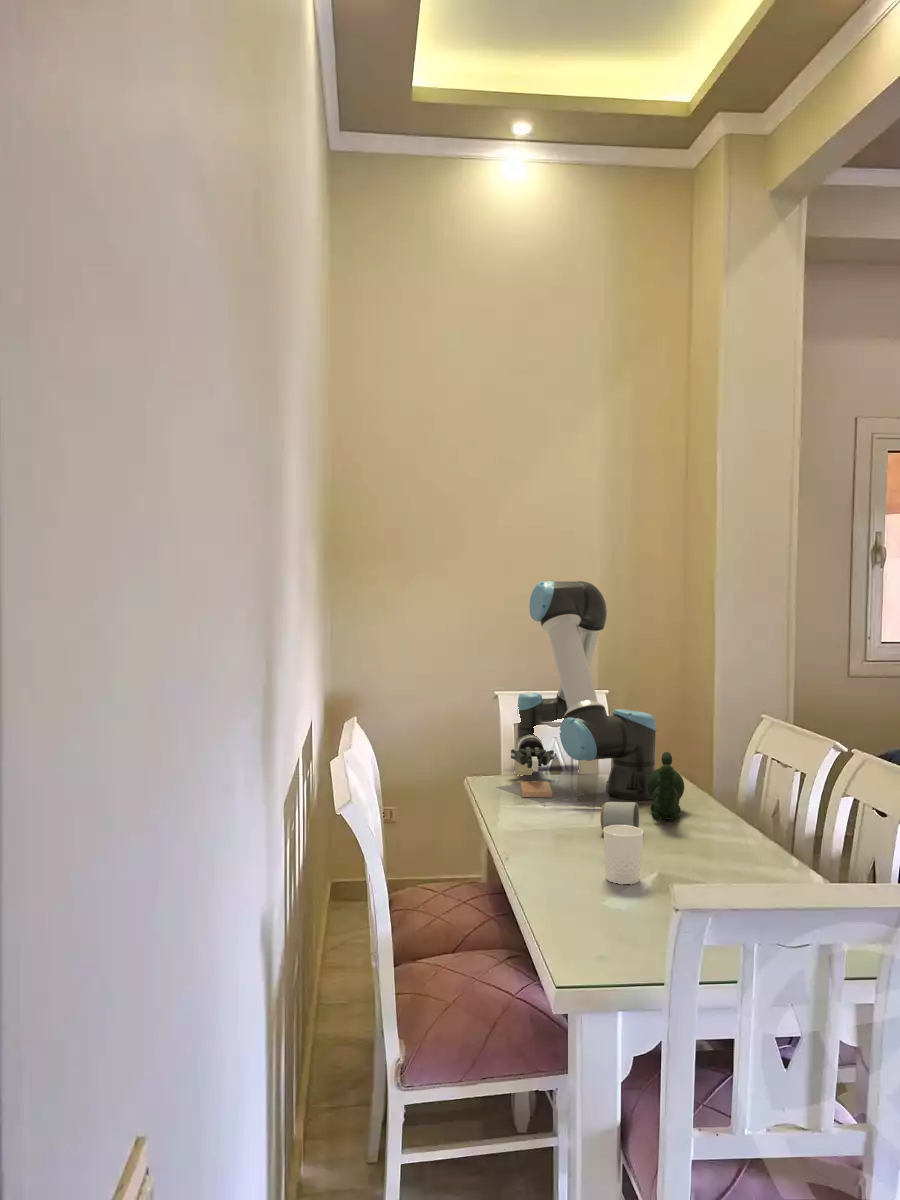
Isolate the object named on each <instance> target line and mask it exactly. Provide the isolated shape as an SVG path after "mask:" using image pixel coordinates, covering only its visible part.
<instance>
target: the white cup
mask: <svg viewBox="0 0 900 1200" xmlns="http://www.w3.org/2000/svg"><path fill="white" fill-rule="evenodd" d="M603 830H604V831H603ZM603 830H602V831H603V853H604V855H603V858H604V866H605V869H604V870H605V872H604V873H605V879H606V880H607V882H611V883H612V882H613V884H616V883H618V884H617V885H623V884H630V885H635V884H637V883H639V882H640V876H641V874H640V873H641V868H642V855H643V845H644V844H643V842H644V841H643V840H644V830H643V829H642V828H637V827H634V826H629V825H610V826H607V827H605V828H604V829H603Z"/></svg>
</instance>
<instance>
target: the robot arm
mask: <svg viewBox="0 0 900 1200" xmlns="http://www.w3.org/2000/svg"><path fill="white" fill-rule="evenodd" d="M530 594H531V595H530V598H529V606H528V607H529V614H530V617H531V619H532V620H533V621H534V622H536V623H537V622H540V626H541V629H542V631H543V632H545V633H546V634H548V636H549V639H550V644H551V648H552V652H553V656H554V660H555V663H556V668H557V672H558V676H559V679H560V682H559V686H558V690H557V693H556V697H553V698H543V695H542V694H541V693H539V692H532V693H533V694H521V693H520V694H519V695H518V697H517V698H518V699H517V707H519V708H518V709H519V714H520V718H521V722H520V723H518V722H517V727H516V728H517V736H516V746H517V748H518V749H514V748H513V749H510V759H513V760H514V761H516V762H518V764H520V765H521V766H525V765H526V764H527V765H526V767H527V768H528V769H532V772H539V767H543V766H547V765H548V764H549V763H550V762H551V761H552V760H554V759H555V750H553V749H551V750H546V749H545V747H544V746H543V743H542V739H541V740H540V739H539V738H538V737H537V736H535V735H534V734H533V733H534V728H533V727H534V726H536V725H539V724H544V723H545V724H546V723H553V722H552V721H554V720H557V719H562V718H564V720H563V721H562V722H560V726H559V731H560V732H559V737H560V743H561V746H562V748H563V749H564V752H565V753H566V754H567V756H569V757H570V758H571V759H573V760H575V761H587V762H590V761H595V760H606V759H607V760H608V759H612V765H611V768H610V772H609V775H608V779H607V781H606V784H605V791H606V792H607V794H608V795H609V796H611V797H613V798H618V799H623V800H624V799H625V800H632V801H633V800H634V801H644V800H645V801H646V800H652V797H651V796H650V795H649V792H648V789H647V781H648V778H649V776H650V775H651V773H652V772H654V771H655V770H657V769H656V737H657V736H656V732H657V728H656V727H657V726H656V718H655V717H654V715H652V714H651V713H647V712H643V711H639V710H638V711H637V710H632V709H622V708H615V709H614V710H613V712H612V715H608V713H607V711H606V710H607V709H606V707H605V706H604V705H603V704H602V703H600V702H598V698H597V694H596V690H595V687H594V686H595V685H594V683H593V679H592V675H591V671H590V667H591V664H592V663H591V662H592V659H593V656H594V652H595V648H596V644H597V641H598V637H599V634H600V632H601V631H603V630H604V629H605V624H606V621H607V612H608V611H607V610H608V609H607V604H606V601H605V600H606V599H605V598H604V594H603V593H602V592H601V591H600V589H599V588H598V587H597V586H595V585H594V584H592V583H590V582H588V581H583V580H575V581H572V580H568V581H567V580H566V581H564V580H563V581H560V580H558V581H555V580H554V581H553V580H549V581H546V580H545V581H540V582H538V583H537V584H536V585H535V586H534V587H533V589H532V591H531V593H530ZM518 709H517V710H518Z"/></svg>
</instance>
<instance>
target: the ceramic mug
mask: <svg viewBox="0 0 900 1200" xmlns="http://www.w3.org/2000/svg"><path fill="white" fill-rule="evenodd" d="M639 811H640V807H639V804H638V802H633V801H631V802H628V801H625V802H623V801H607V802H604V803H603V804H602V806H601V810H600V819H599V820H600V826H601V829H602V831H603V832H604V830H603V829H604V828H605V827H607V826H610V825H629V826H634V827H637V828H639V827H640V812H639Z"/></svg>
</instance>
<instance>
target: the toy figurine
mask: <svg viewBox="0 0 900 1200" xmlns="http://www.w3.org/2000/svg"><path fill="white" fill-rule="evenodd" d="M672 763H673V756H672V754H671V753H670V752H669V751H665V752H663V753H662V755H661V764H662V765H661V766H660V768H657V769H656V770H655V771H654V772H652V773H651V775H650V776H649V778H648V781H647V789H648V792H649V795H650V796H651V797H652V799H651V801H652V803H651V805H650V807H649V808H650V810H651V813H650V814H651V818H652V819H654V820H658V821H660V820H661V819H667V820H669V819H670V821H672V822H675V821H678V820H679V819H680V818H681V816H680V812H681V810H682V809H681V806H680V805H679V804H680V800H681V798H682V796H683V794H684V792H685V781H684V779H683V777H682V775H681V774H680V773H679V772H678V771H676V769H674V767H673V766H672Z"/></svg>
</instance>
